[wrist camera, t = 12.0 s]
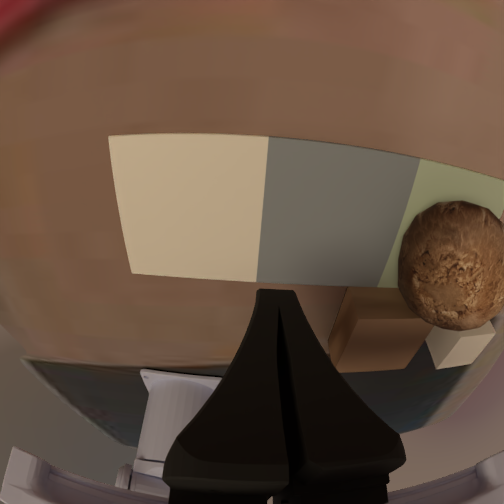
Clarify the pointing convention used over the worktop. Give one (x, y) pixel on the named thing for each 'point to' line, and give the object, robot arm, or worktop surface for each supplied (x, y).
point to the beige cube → (458, 345)
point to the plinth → (375, 331)
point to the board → (277, 206)
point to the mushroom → (453, 265)
